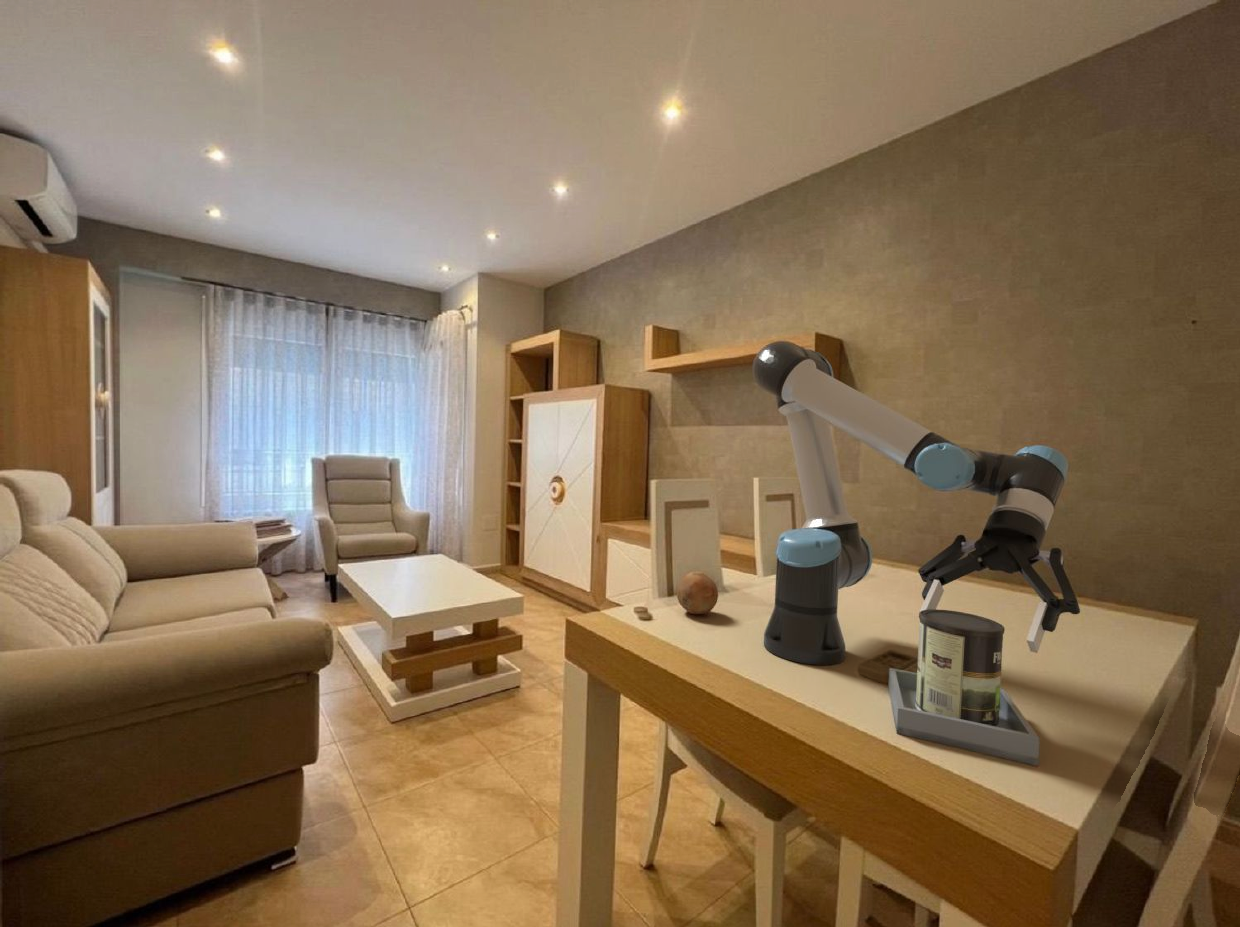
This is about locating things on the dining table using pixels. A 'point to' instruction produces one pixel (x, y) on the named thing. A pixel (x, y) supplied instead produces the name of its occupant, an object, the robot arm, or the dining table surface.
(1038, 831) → the dining table surface
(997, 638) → the coffee can
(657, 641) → the dining table surface
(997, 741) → the tray
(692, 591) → the onion
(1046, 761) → the dining table surface
